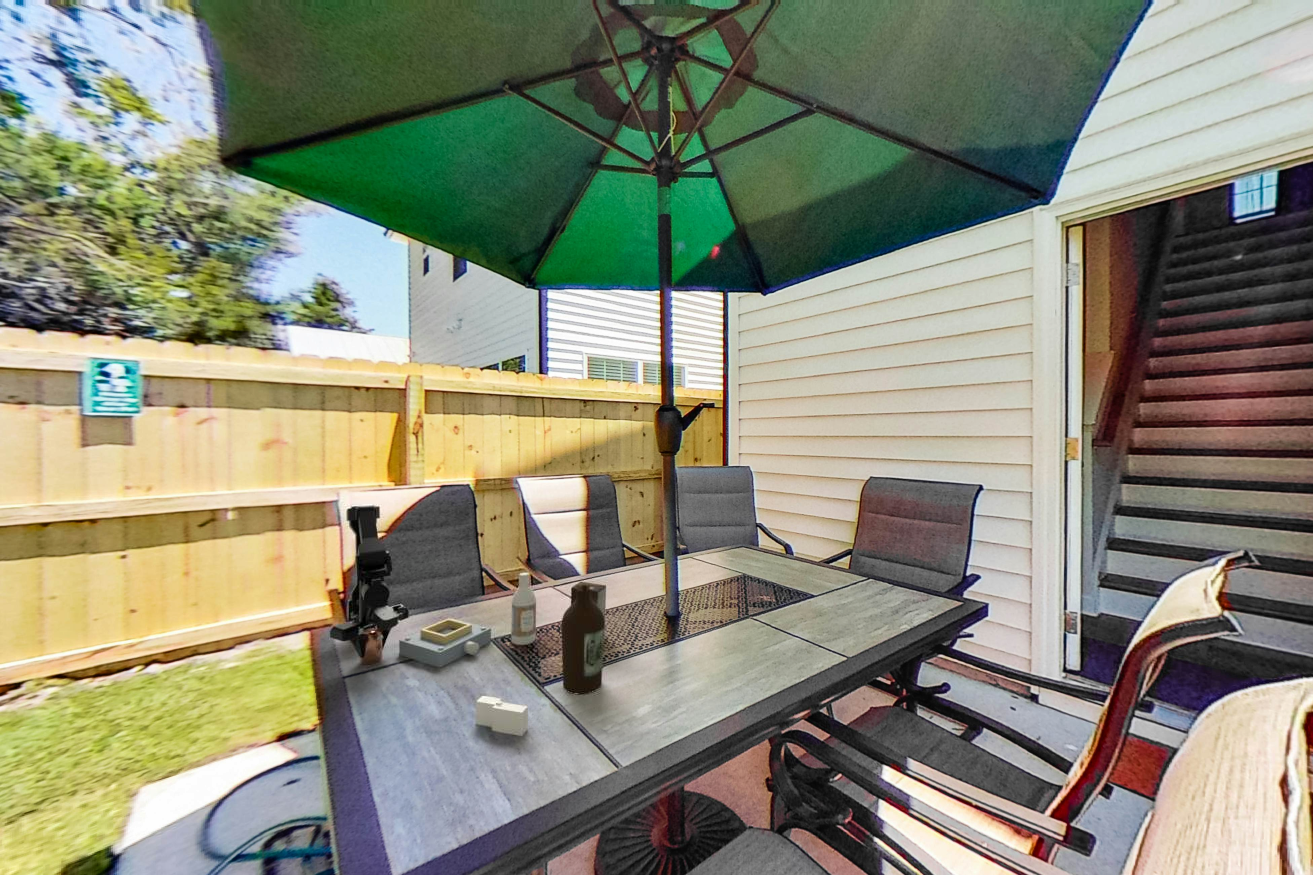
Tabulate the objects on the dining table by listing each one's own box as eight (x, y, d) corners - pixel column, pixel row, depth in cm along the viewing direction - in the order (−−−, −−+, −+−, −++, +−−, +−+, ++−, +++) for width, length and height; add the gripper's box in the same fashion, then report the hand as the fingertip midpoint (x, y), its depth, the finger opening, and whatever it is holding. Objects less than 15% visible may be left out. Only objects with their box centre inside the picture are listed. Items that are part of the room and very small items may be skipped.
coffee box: (568, 640, 148) (569, 587, 147) (579, 632, 154) (579, 581, 153) (596, 645, 145) (597, 590, 144) (606, 637, 151) (606, 584, 150)
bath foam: (515, 647, 142) (516, 578, 142) (508, 639, 148) (509, 572, 148) (538, 642, 146) (539, 574, 146) (530, 634, 152) (531, 569, 152)
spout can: (356, 662, 132) (356, 633, 132) (374, 655, 136) (374, 626, 136) (373, 668, 129) (373, 638, 129) (390, 660, 133) (391, 631, 133)
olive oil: (551, 686, 121) (552, 585, 121) (581, 670, 130) (583, 575, 129) (583, 701, 115) (584, 593, 115) (612, 682, 124) (614, 582, 123)
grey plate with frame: (399, 654, 137) (399, 632, 137) (452, 631, 153) (452, 611, 153) (448, 670, 129) (448, 647, 129) (498, 643, 145) (498, 623, 145)
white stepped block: (541, 734, 103) (541, 707, 103) (486, 756, 96) (486, 726, 96) (513, 702, 115) (514, 678, 115) (463, 719, 108) (463, 693, 108)
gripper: (356, 612, 121) (356, 675, 121) (422, 590, 138) (422, 646, 138) (328, 604, 126) (328, 665, 126) (396, 584, 143) (395, 638, 143)
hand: (371, 653), depth 133 cm, fingers closed on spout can, 5 cm apart
